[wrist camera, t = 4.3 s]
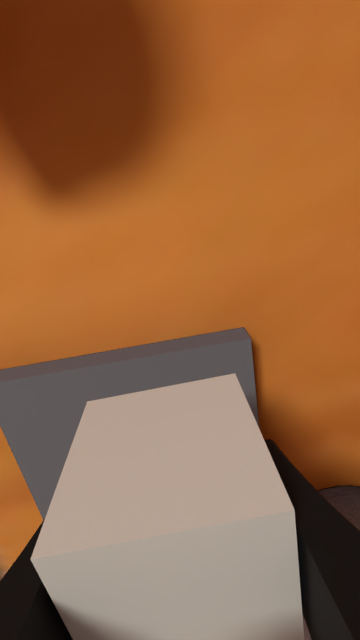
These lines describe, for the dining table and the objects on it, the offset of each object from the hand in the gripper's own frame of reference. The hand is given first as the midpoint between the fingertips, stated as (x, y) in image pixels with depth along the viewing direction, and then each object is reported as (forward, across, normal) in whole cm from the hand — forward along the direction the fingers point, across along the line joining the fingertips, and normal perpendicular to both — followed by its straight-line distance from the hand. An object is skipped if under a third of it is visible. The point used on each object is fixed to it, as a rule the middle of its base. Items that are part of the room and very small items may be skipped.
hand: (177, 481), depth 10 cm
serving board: (+9, +3, +4) cm, 10 cm away
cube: (+2, 0, 0) cm, 2 cm away
